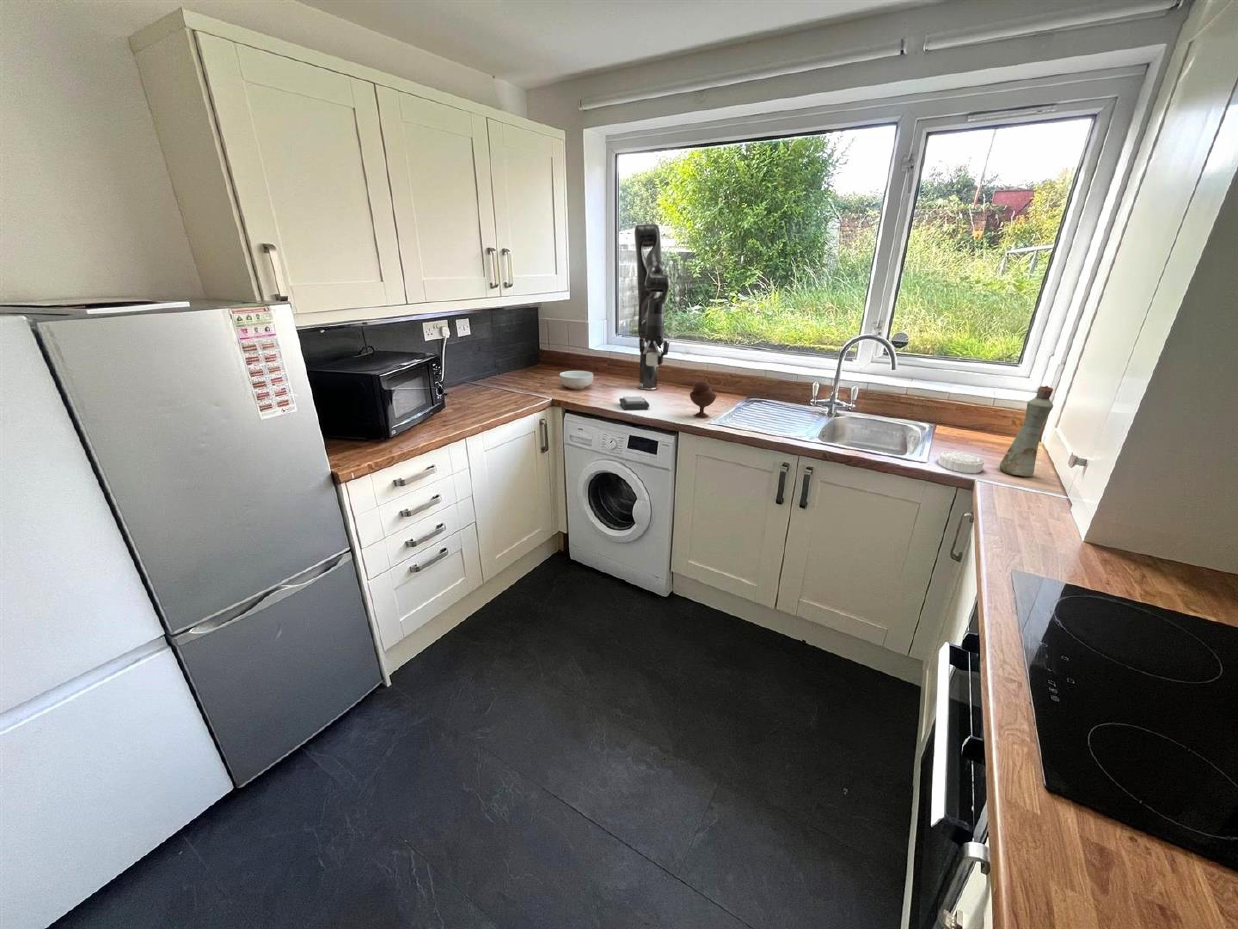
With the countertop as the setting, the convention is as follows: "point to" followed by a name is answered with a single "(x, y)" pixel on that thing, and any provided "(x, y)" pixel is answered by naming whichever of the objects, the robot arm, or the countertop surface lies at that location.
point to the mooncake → (961, 462)
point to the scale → (634, 405)
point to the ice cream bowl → (702, 397)
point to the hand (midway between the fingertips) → (652, 363)
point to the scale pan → (634, 400)
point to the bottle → (1028, 436)
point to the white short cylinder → (652, 359)
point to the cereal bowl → (576, 379)
